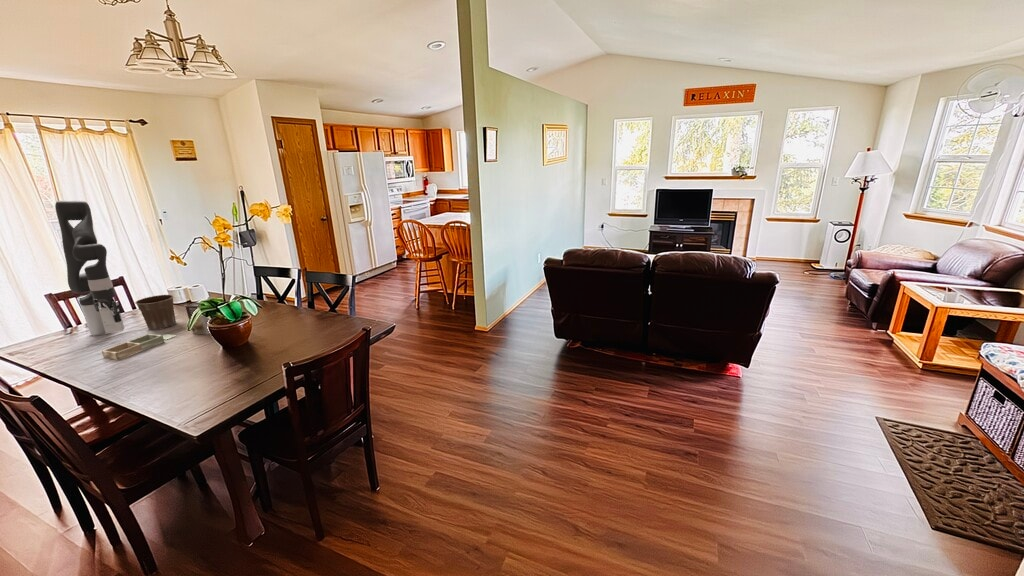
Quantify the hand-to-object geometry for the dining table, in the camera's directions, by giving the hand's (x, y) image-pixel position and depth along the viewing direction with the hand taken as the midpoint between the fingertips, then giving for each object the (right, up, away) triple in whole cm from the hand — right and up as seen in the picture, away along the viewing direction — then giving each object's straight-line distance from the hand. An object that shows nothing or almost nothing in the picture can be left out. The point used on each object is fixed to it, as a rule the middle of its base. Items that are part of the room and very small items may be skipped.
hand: (112, 320), depth 188 cm
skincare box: (0, -5, +2) cm, 5 cm away
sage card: (+5, -11, +23) cm, 26 cm away
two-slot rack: (+2, -15, +10) cm, 18 cm away
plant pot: (-10, -6, +39) cm, 40 cm away
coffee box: (+20, -9, +30) cm, 37 cm away
